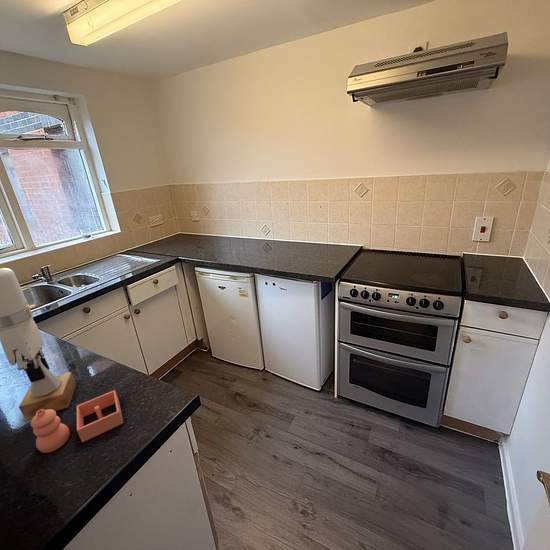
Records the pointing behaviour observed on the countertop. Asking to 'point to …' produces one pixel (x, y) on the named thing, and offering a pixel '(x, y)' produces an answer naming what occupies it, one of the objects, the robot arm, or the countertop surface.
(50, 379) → the flask
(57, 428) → the pottery
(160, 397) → the countertop surface
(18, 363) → the robot arm
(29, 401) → the oak block
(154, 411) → the countertop surface
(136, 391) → the countertop surface
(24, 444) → the countertop surface
